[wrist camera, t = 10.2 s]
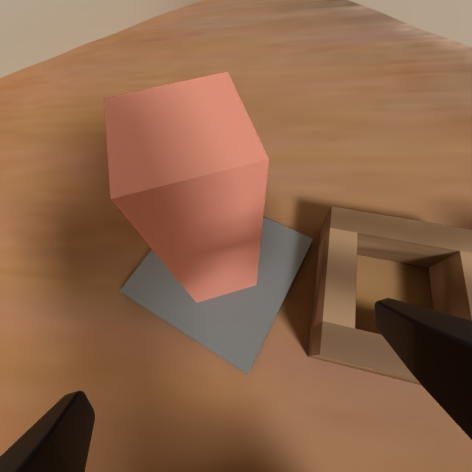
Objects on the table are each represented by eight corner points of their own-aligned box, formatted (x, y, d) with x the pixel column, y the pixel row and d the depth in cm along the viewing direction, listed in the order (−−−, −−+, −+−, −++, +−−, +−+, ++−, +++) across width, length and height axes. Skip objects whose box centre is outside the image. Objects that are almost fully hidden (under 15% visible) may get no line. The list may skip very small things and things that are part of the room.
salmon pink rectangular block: (256, 285, 20) (268, 159, 8) (196, 302, 20) (110, 198, 8) (239, 233, 23) (227, 71, 10) (184, 248, 22) (103, 98, 10)
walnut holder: (474, 398, 17) (525, 405, 14) (307, 356, 18) (319, 354, 15) (451, 251, 22) (485, 231, 19) (320, 227, 23) (331, 206, 20)
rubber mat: (247, 374, 18) (247, 374, 18) (122, 293, 21) (119, 291, 21) (311, 241, 23) (313, 238, 22) (200, 191, 26) (199, 187, 25)
